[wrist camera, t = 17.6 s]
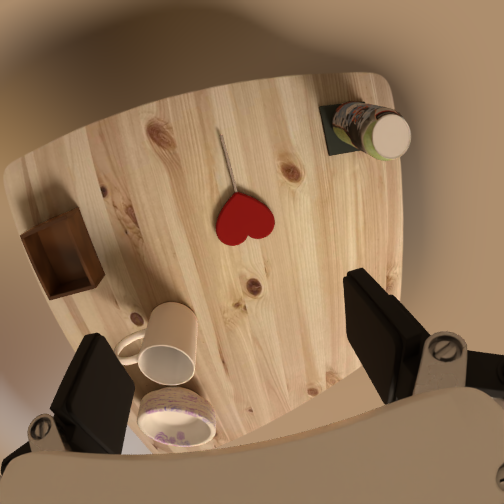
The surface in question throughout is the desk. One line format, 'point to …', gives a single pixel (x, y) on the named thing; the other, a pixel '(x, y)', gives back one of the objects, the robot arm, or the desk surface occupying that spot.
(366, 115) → the beverage can
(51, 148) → the desk surface
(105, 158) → the desk surface
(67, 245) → the wooden box
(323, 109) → the coaster
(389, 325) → the robot arm
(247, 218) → the lollipop
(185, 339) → the mug
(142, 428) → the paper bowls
